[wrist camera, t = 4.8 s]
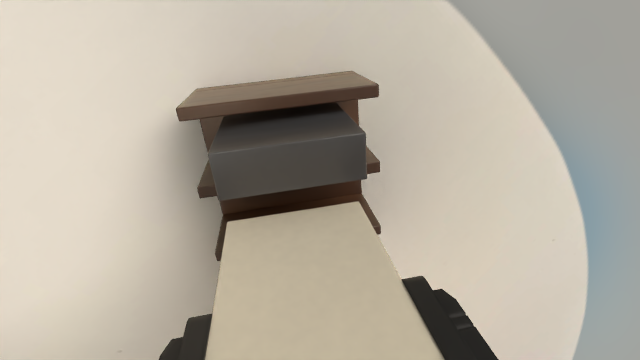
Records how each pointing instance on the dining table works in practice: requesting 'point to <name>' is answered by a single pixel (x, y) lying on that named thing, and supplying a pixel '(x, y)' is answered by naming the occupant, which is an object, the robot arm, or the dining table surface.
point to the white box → (313, 292)
